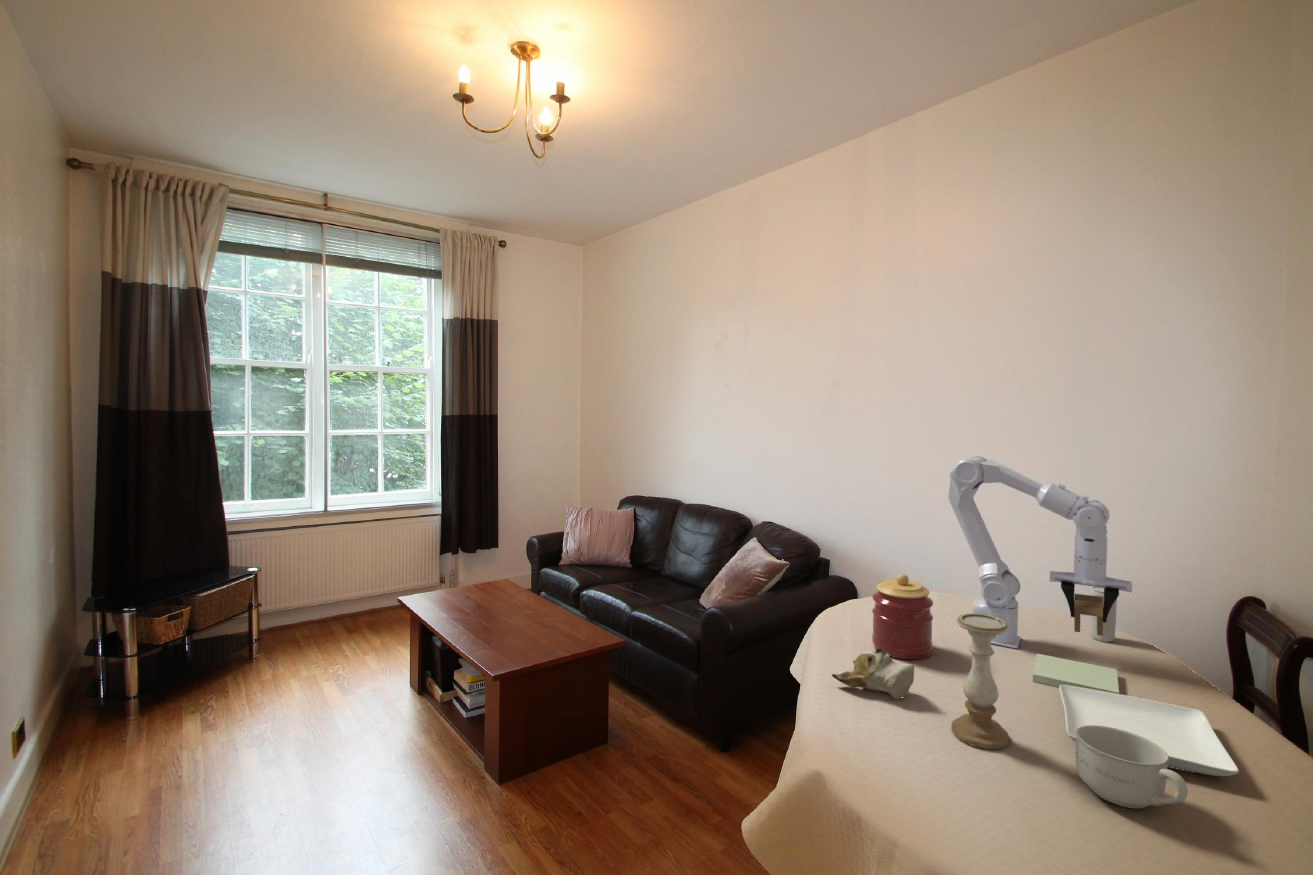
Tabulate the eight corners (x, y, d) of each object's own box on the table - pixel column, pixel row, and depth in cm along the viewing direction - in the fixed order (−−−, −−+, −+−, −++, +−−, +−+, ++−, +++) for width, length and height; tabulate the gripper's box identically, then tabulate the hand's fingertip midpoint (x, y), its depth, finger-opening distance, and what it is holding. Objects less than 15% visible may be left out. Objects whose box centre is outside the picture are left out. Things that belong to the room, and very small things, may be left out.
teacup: (1057, 774, 94) (1058, 724, 93) (1122, 769, 95) (1124, 719, 94) (1135, 839, 80) (1137, 780, 80) (1210, 832, 81) (1213, 775, 81)
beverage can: (1106, 635, 147) (1108, 586, 146) (1120, 643, 142) (1121, 592, 141) (1085, 634, 147) (1087, 586, 147) (1098, 642, 143) (1099, 592, 142)
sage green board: (1032, 681, 124) (1032, 674, 124) (1036, 660, 134) (1037, 653, 134) (1118, 700, 116) (1119, 692, 116) (1116, 676, 126) (1116, 669, 126)
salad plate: (1057, 698, 118) (1058, 680, 118) (1201, 726, 107) (1202, 707, 107) (1067, 754, 100) (1067, 734, 99) (1241, 795, 89) (1242, 772, 89)
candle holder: (987, 755, 99) (990, 634, 98) (940, 729, 107) (942, 617, 105) (1020, 741, 103) (1023, 624, 102) (972, 717, 111) (974, 608, 109)
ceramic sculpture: (901, 665, 112) (828, 647, 123) (903, 712, 113) (830, 690, 123) (924, 648, 120) (853, 633, 131) (926, 692, 120) (855, 673, 131)
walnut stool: (1074, 631, 132) (1074, 599, 132) (1074, 624, 136) (1074, 593, 136) (1103, 635, 129) (1102, 603, 129) (1102, 628, 133) (1102, 596, 133)
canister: (936, 644, 143) (937, 571, 142) (927, 665, 132) (928, 586, 131) (878, 633, 150) (879, 563, 149) (865, 653, 139) (866, 577, 138)
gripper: (1049, 556, 133) (1047, 617, 134) (1133, 566, 124) (1131, 631, 125) (1051, 549, 139) (1049, 607, 139) (1131, 558, 130) (1129, 620, 131)
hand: (1088, 618), depth 133 cm, fingers closed on walnut stool, 5 cm apart
